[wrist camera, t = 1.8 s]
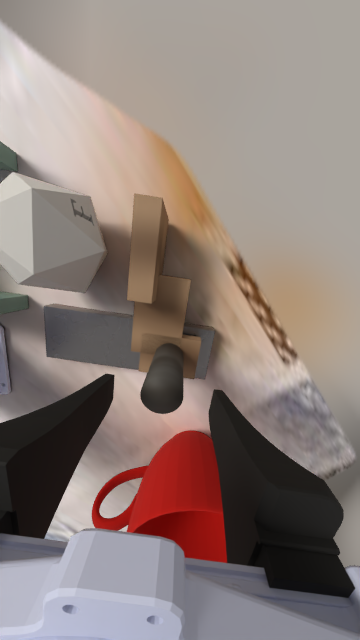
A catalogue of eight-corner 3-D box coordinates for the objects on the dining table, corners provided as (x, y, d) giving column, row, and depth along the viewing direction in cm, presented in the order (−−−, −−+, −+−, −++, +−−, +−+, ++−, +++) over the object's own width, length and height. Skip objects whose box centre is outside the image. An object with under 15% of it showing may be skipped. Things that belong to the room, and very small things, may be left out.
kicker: (192, 366, 21) (198, 427, 13) (135, 358, 21) (103, 413, 13) (218, 227, 17) (251, 182, 9) (148, 216, 17) (114, 160, 9)
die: (115, 297, 20) (122, 247, 12) (22, 312, 16) (-71, 253, 8) (99, 235, 21) (94, 147, 13) (8, 236, 17) (-88, 110, 9)
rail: (203, 372, 22) (204, 379, 20) (55, 351, 21) (46, 356, 20) (212, 327, 20) (215, 331, 19) (54, 303, 20) (43, 305, 18)
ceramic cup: (120, 402, 23) (74, 494, 13) (245, 417, 23) (289, 519, 14) (117, 472, 26) (79, 587, 17) (226, 486, 27) (251, 607, 17)
